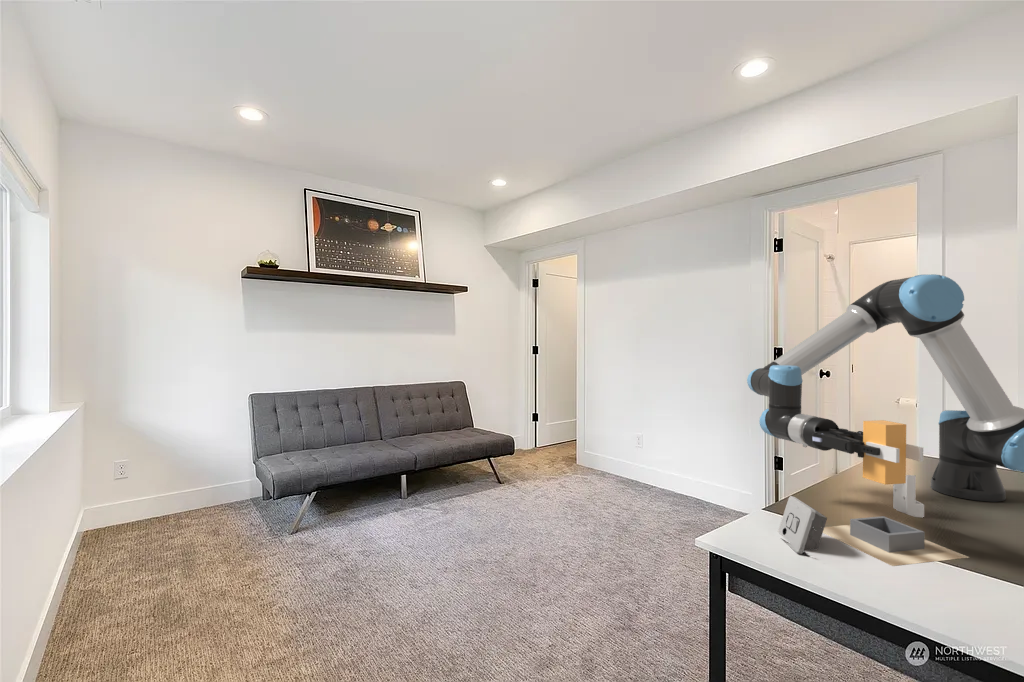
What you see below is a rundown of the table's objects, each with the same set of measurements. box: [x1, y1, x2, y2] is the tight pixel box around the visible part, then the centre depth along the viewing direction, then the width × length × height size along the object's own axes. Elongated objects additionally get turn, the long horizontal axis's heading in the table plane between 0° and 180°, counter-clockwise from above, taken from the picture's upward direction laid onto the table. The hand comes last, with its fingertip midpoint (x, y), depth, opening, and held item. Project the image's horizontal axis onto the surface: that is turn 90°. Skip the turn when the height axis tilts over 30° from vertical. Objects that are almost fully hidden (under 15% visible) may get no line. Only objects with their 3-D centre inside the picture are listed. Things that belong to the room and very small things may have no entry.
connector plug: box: [862, 419, 907, 486], centre depth 100 cm, size 5×5×12 cm
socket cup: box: [849, 516, 926, 553], centre depth 100 cm, size 9×9×3 cm
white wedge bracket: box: [892, 474, 925, 518], centre depth 119 cm, size 4×10×9 cm, turn 168°
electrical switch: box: [777, 495, 828, 555], centre depth 100 cm, size 9×5×9 cm, turn 175°
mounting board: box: [822, 524, 970, 567], centre depth 100 cm, size 18×18×1 cm
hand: (909, 455), depth 95 cm, fingers closed on connector plug, 5 cm apart
